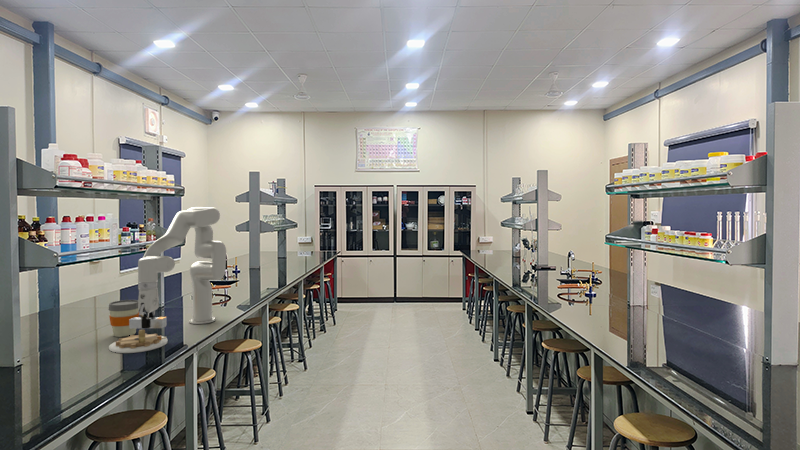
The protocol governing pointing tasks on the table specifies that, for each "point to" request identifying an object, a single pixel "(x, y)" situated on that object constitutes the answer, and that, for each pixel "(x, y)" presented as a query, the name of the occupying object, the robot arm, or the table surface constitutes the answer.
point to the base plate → (138, 349)
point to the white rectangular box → (154, 322)
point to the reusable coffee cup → (123, 316)
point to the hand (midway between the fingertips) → (148, 326)
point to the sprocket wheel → (138, 340)
